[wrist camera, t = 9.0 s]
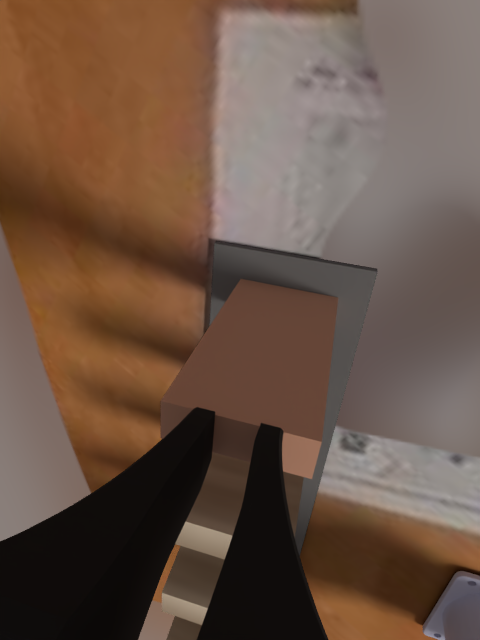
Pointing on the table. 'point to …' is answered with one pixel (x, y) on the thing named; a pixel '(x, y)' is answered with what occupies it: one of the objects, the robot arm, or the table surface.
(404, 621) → the table surface
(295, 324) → the domino
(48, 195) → the table surface
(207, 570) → the domino
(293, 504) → the domino
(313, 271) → the grey flat rectangular board
